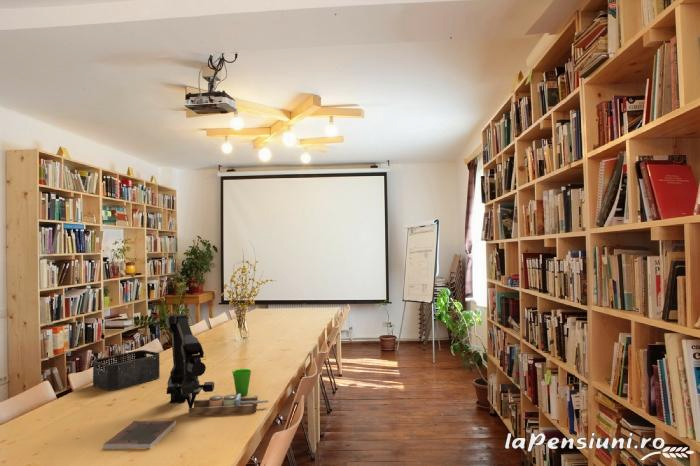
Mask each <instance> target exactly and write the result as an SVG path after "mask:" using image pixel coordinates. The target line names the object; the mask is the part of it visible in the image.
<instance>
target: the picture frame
mask: <svg viewBox="0 0 700 466" xmlns="http://www.w3.org/2000/svg"><path fill="white" fill-rule="evenodd" d="M176 425H177V423H176V420H134V421H132V422H130V423H129V424H128V425H126V426H125V427H124V428H123V429H122V430H120V431H118V432H117V433H116V434H115V435H114V436H112V437H111V438H109V439H108V440H106V442H104V443H103V445H102V446H103V447H102V448H103V450H128V449H127V448H151V447H152V446H153V445H154V444H155V443H156V442H157V443H158V442H159V441H161V439H163V438H164V437H165V436H166V435H167V434H168V433H169V432H170V431H171V430H172V429H173V428H175V426H176ZM169 430H170V431H169ZM168 431H169V432H168ZM167 432H168V433H167ZM166 433H167V434H166ZM165 434H166V435H165ZM164 435H165V436H164ZM163 436H164V437H163ZM162 437H163V438H162ZM157 443H156V444H157ZM156 444H155V445H156ZM155 445H154V446H155ZM154 446H153V447H154ZM153 447H152V448H153ZM112 448H113V449H112ZM125 448H126V449H125ZM152 448H151V449H152Z"/></svg>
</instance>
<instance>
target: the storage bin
mask: <svg viewBox="0 0 700 466" xmlns="http://www.w3.org/2000/svg"><path fill="white" fill-rule="evenodd" d="M147 355H150V356H147ZM92 363H93V364H92V366H93V367H92V386H93V387H94V388H98V389H101V390H105V391H107V392H108V391H118V390H121V389H125V388H128V387H133V386H135V385H136V386H137V385H140V384H143V383H146V382H150V381H151V382H152V381H153V380H154V381H155V380H157V379H159V378H160V376H161V375H160V373H161V372H160V353H159V352H156V351H150V350H145V349H140V350H132V351H129V352H124V353H120V354H119V353H118V354H115V355H110V356H104V357H101V358H96V359H93V360H92Z"/></svg>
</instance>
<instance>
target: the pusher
mask: <svg viewBox="0 0 700 466" xmlns="http://www.w3.org/2000/svg"><path fill="white" fill-rule="evenodd" d="M236 396H237V398H236V405H241V404H250V403H253V402H254V401H242V402H241V397H242V396H241V394H238V395H236ZM257 403H258V404H262V403H264V404H265V403H269V400H268V399H265V400H264V399H263V400H261V399H260V400H258V401H257Z"/></svg>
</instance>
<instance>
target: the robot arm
mask: <svg viewBox="0 0 700 466" xmlns="http://www.w3.org/2000/svg"><path fill="white" fill-rule="evenodd" d="M165 325H166V329H167V330H168V332H169V333H170V335H171V348H172V350H171V351H172V361H173V362H172V363H173V366H172V369H171V370H170V372H169V373H170V375H169V377H168V381H167V388H166V394H167V395H170V400H169V404H173V403H175V404H176V403H184V402H186V403H187V405H188V409H189V408H193V407H194V400H196V397H197V395H199V394H200V393H201V390H203V392H204V393H211V392H214V389H215V382H214V381H204V383H203V384H200V380H199V377H200V376H203V375H204V374H205V372H206V370H207V367H206V364H205V363H204V362H202V358H204V354H205V353H204V350H203V346H202V344H201V342H200V341H199V339H198V337H196V336H194V335H193V332H192V329H191V327H190V324H189V322H188V315H187V314H183V313H176V314H168V316H166V317H165Z"/></svg>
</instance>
